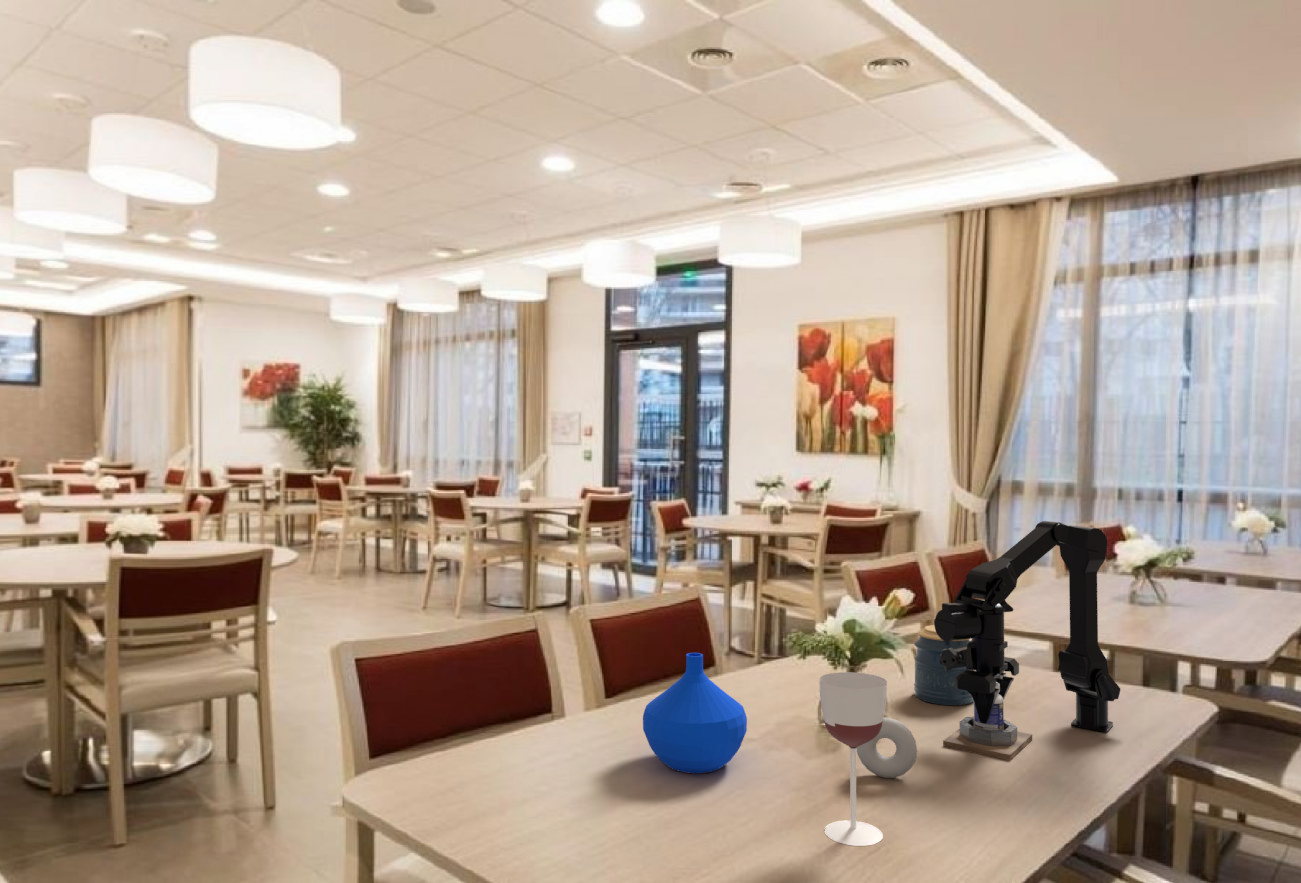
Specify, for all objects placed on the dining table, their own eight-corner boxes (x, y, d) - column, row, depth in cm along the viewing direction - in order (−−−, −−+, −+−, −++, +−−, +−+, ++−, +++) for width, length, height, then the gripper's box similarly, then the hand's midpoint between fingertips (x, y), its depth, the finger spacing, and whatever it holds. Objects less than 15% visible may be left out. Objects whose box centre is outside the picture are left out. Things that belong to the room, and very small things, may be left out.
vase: (760, 754, 157) (760, 648, 157) (726, 790, 140) (725, 672, 140) (668, 740, 165) (667, 639, 165) (624, 773, 148) (624, 661, 148)
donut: (917, 777, 146) (917, 717, 146) (916, 784, 143) (916, 723, 143) (857, 770, 149) (856, 711, 149) (854, 777, 146) (854, 717, 146)
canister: (984, 706, 186) (984, 624, 186) (924, 706, 186) (923, 624, 186) (963, 689, 199) (963, 612, 199) (907, 689, 199) (906, 612, 199)
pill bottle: (1006, 735, 160) (1005, 687, 160) (976, 734, 161) (975, 686, 161) (1000, 726, 165) (1000, 679, 165) (971, 724, 166) (971, 678, 166)
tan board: (968, 727, 172) (968, 721, 172) (1032, 739, 165) (1032, 734, 165) (943, 745, 161) (943, 740, 161) (1010, 760, 154) (1010, 754, 154)
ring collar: (971, 726, 169) (971, 713, 169) (1021, 736, 164) (1021, 722, 164) (954, 738, 162) (954, 725, 162) (1006, 749, 156) (1006, 735, 156)
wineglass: (812, 821, 129) (812, 673, 129) (875, 818, 130) (874, 671, 130) (829, 848, 120) (829, 689, 120) (896, 845, 121) (896, 687, 121)
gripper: (962, 622, 175) (962, 700, 175) (927, 639, 161) (927, 723, 161) (1019, 630, 168) (1020, 710, 168) (988, 647, 154) (989, 735, 154)
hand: (988, 719), depth 163 cm, fingers closed on pill bottle, 5 cm apart
